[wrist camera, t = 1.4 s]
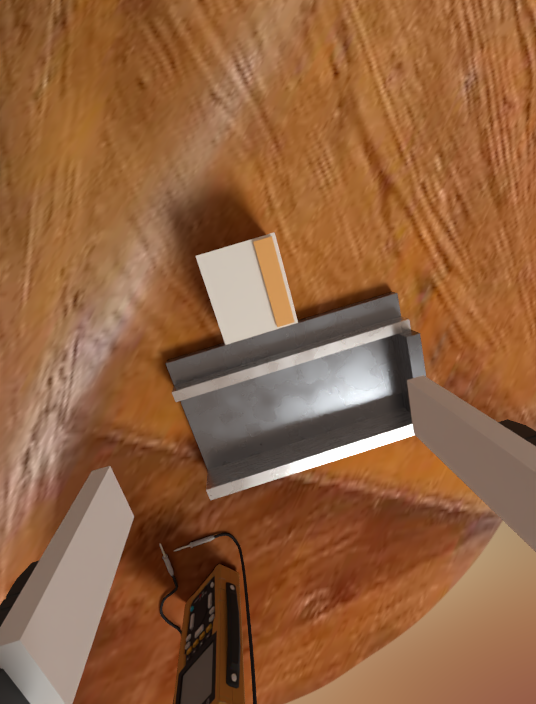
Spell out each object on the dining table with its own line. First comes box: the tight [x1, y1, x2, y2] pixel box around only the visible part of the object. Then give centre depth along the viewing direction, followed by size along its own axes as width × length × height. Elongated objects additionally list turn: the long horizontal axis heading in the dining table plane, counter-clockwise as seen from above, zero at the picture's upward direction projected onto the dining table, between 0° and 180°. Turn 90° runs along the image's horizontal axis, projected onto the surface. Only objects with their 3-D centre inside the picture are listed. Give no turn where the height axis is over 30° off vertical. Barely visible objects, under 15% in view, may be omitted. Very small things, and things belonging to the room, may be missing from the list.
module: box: [196, 232, 298, 345], centre depth 28 cm, size 7×6×5 cm
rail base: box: [166, 292, 426, 500], centre depth 32 cm, size 15×22×4 cm
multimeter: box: [159, 533, 257, 704], centre depth 29 cm, size 15×10×20 cm
